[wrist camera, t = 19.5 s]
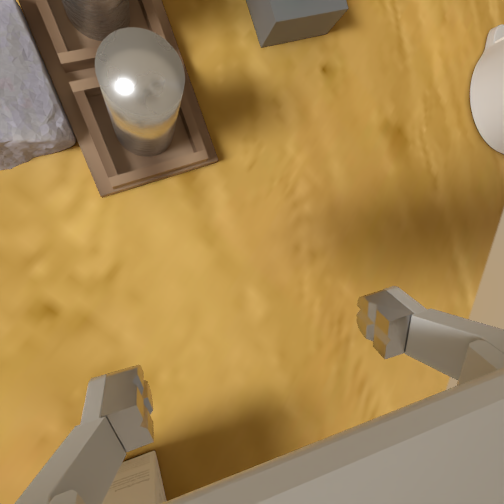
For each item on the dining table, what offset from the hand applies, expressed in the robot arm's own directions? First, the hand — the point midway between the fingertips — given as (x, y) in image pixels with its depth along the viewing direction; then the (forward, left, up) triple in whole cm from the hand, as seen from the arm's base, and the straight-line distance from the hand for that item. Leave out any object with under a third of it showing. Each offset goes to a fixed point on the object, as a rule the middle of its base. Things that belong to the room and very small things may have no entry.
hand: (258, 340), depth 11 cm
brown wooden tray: (-1, -19, -20) cm, 28 cm away
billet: (-1, -14, -19) cm, 24 cm away
